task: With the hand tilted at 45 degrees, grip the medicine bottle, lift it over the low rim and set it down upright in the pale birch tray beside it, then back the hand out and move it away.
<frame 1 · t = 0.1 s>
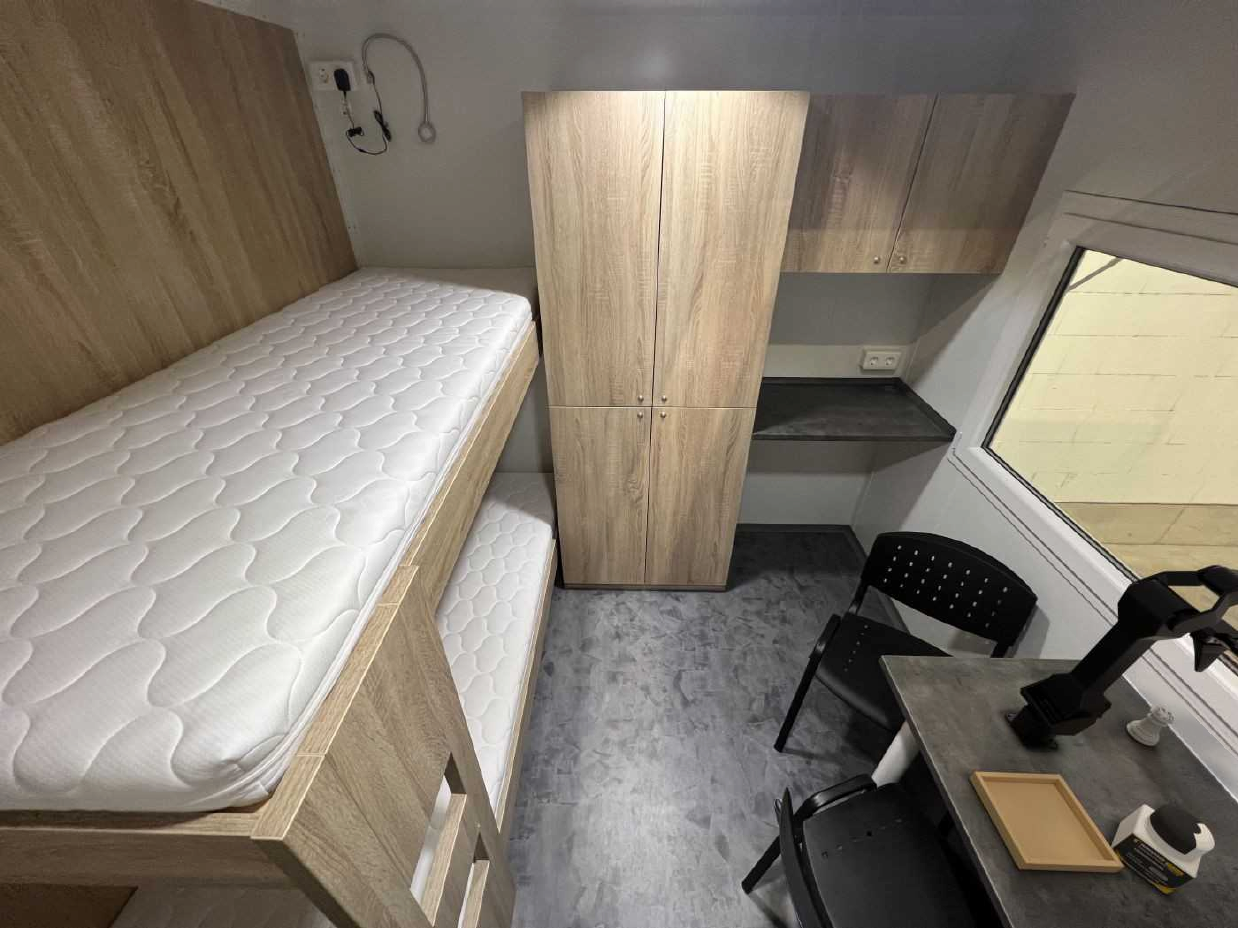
hand: (1222, 693, 89), 15 cm above the table, tool pointing down, fingers open, 9 cm apart
rook chess piece: (1139, 735, 97), on the table
medicine bottle: (1141, 857, 80), on the table
tray: (1037, 821, 83), on the table
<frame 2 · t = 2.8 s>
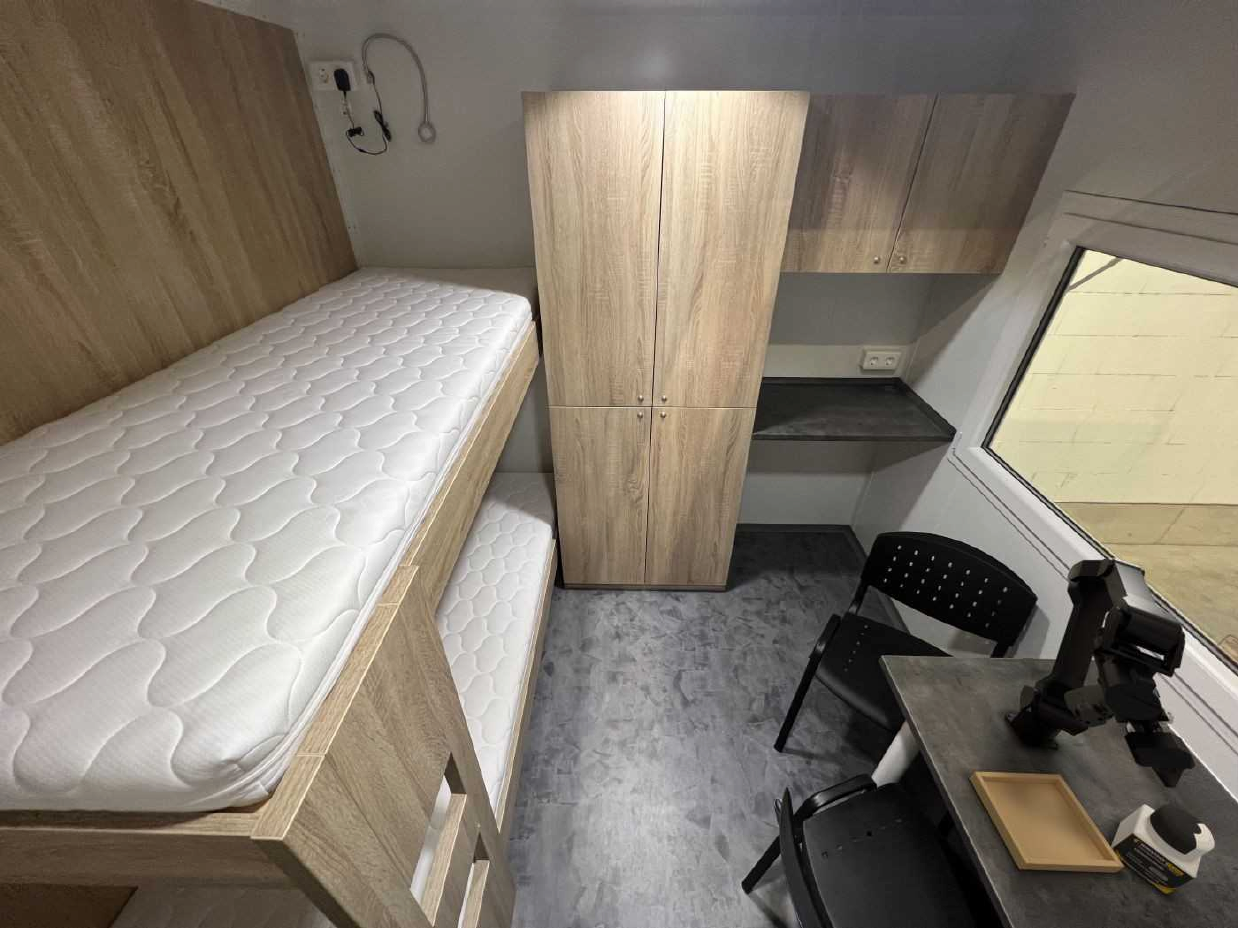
hand: (1158, 763, 78), 15 cm above the table, tool tilted 40°, fingers open, 9 cm apart
nothing on the table moved.
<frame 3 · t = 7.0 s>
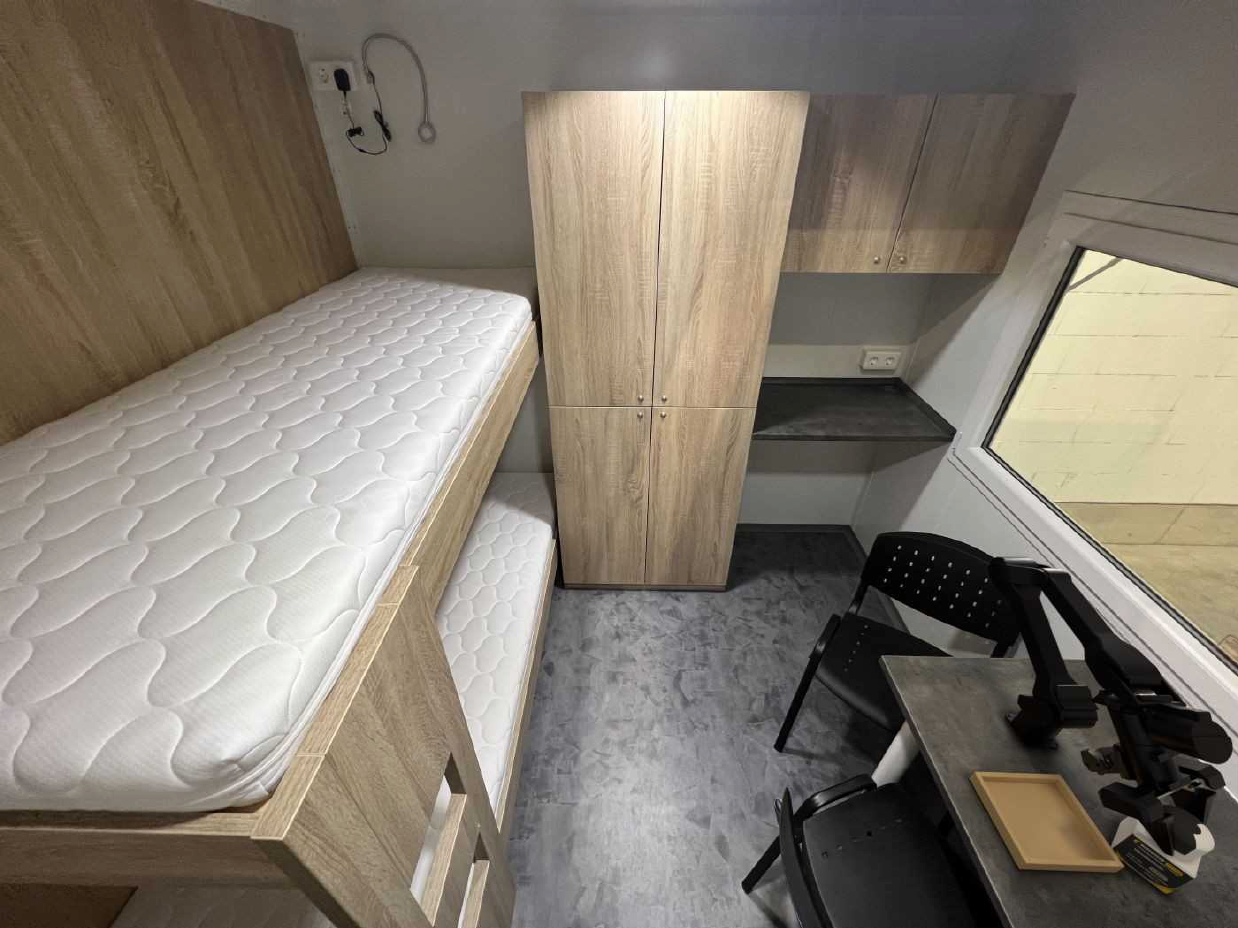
hand: (1183, 846, 74), 8 cm above the table, tool tilted 45°, fingers closed on medicine bottle, 6 cm apart
medicine bottle: (1141, 856, 80), on the table, touching gripper
everything else where it was.
when the fingers open (8 cm above the table, at t = 12.8 s): medicine bottle stays where it is, resting on tray.
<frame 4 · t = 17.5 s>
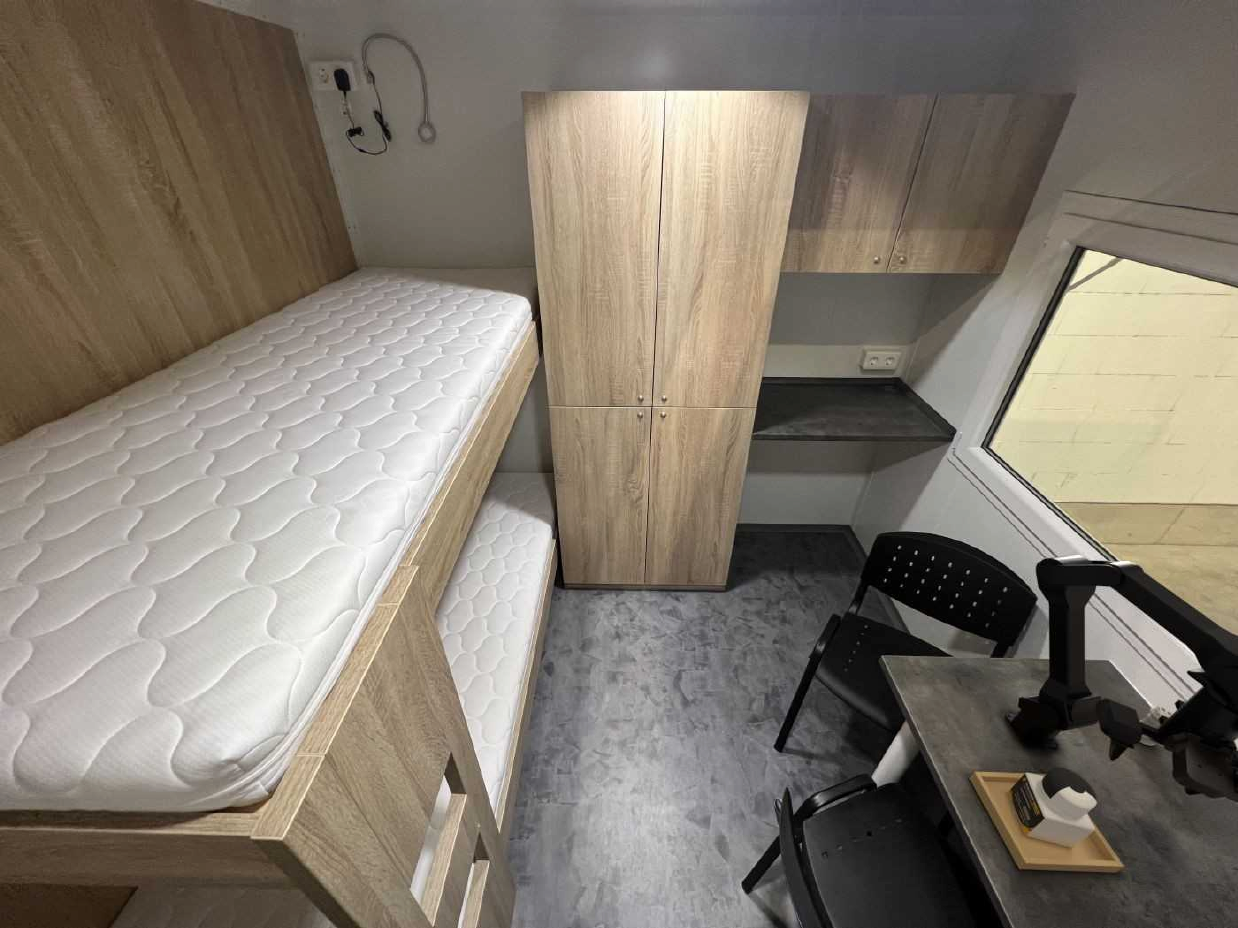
hand: (1147, 774, 78), 13 cm above the table, tool pointing down, fingers open, 9 cm apart
medicine bottle: (1038, 819, 83), resting on tray
everything else where it was.
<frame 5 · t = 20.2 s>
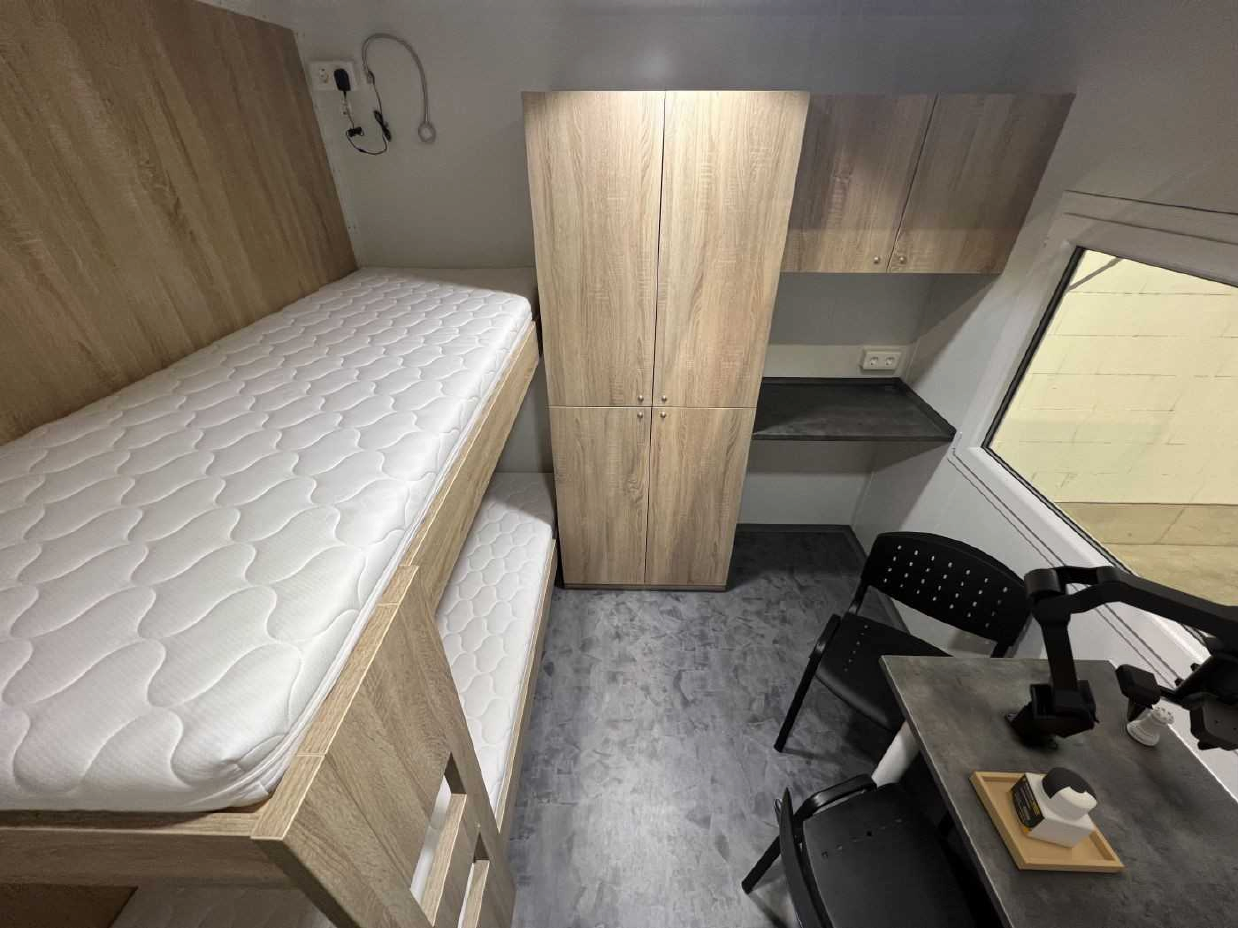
hand: (1163, 733, 84), 13 cm above the table, tool pointing down, fingers open, 9 cm apart
nothing on the table moved.
at the end: medicine bottle inside the target area in the tray (0.2 cm from its centre), point 0.4 cm above the tray's base; medicine bottle tilted 0°; the gripper is holding nothing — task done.
